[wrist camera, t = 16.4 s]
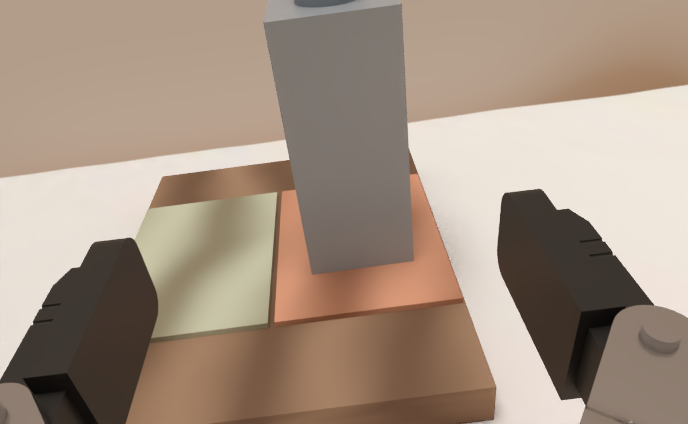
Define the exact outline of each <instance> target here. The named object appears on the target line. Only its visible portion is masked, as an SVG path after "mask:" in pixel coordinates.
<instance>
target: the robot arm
mask: <svg viewBox="0 0 688 424" xmlns="http://www.w3.org/2000/svg"><path fill="white" fill-rule="evenodd" d="M497 256H498V264H499V268H500V272H501V275H502V277H503V279H504V282H505V284H506V286H507V288H508V290H509V292H510V294H511V296H512V298H513V300H514V302H515V305H516V307H517V309H518V311H519V313H520V315H521V317H522V319H523V321H524V323H525V326H526V328H527V330H528V332H529V334H530V336H531V338H532V340H533V342H534V344H535V346H536V349H537V351H538V353H539V355H540V357H541V359H542V361H543V363H544V365H545V367H546V369H547V372H548V374H549V376H550V378H551V380H552V382H553V384H554V386H555V388H556V390H557V393H558V395H559V397H560V399H561V400H567V399H575V398H582V399H583V401H584V403H585V405H586V407H585V410H584V413H583V416H582V419H581V422H580V424H688V318H687V317H685V316H683V315H682V314H679V313H677V312H675V311H673V310H670V309H667V308H663V307H659V306H654V304H653V303H652V302H651V301H650V299H649V298H648V297H647V295H646V294H645V293H644V292H643V290H642V289H641V288H640V286H639V285H638V284H637V283H636V281H635V280H634V279H633V277H632V276H631V275H630V274H629V272H628V271H627V270H626V268H625V267H624V266H623V265H622V263H621V262H620V261H619V260H618V258H617V257H616V256H615V255H614V256H613V253H612V251H611V249H610V248H609V247H608V245H607V244H606V243H605V242H602V238H601V236H600V235H599V234H598V233H597V231H596V230H595V229H594V227H593V226H592V225H591V224H590V222H589V221H587V220H585V219H584V218H582V217H581V216H579V215H577V214H576V213H574V212H573V211H571V210H569V209H562V210H557V209H556V208H555V207H554V205H553V204H552V202H551V201H550V200H549V198H548V197H547V195H546V194H545V193H544V192H543V191H542V190H541V189H535V190H527V191H518V192H510V193H505V194H504V195H503V197H502V202H501V213H500V224H499V235H498V246H497ZM157 316H158V297H157V292H156V289H155V286H154V284H153V282H152V279H151V277H150V274H149V272H148V269H147V267H146V265H145V262H144V260H143V257H142V255H141V253H140V250H139V248H138V245H137V243H136V242H135V241H134V240H133V239H132V238H124V239H116V240H108V241H100V242H95V243H93V244H92V245H91V247H90V249H89V251H88V253H87V255H86V257H85V258H84V260H83V262H82V264H81V266H80V267H78V268H72V269H70V270H69V271H68V272H67V273H66V274H65V275H64V276H63V277H62V278H61V279H60V280H59V281H58V282H57V283H56V284H54V285H53V287H52V288H51V290H50V292H49V294H48V295H47V297H46V299H45V301H44V303H43V304H42V309H40V310H39V312H38V313H37V315H36V317H35V319H34V321H33V325H31V326H30V328H29V329H28V331H27V333H26V335H25V337H24V338H23V340H22V342H21V344H20V346H19V347H18V349H17V351H16V353H15V355H14V356H13V358H12V360H11V362H10V363H9V365H8V367H7V369H6V371H5V372H4V374H3V376H2V378H1V380H0V424H126V421H127V417H128V414H129V411H130V407H131V404H132V401H133V397H134V394H135V391H136V387H137V384H138V381H139V377H140V374H141V371H142V367H143V364H144V360H145V357H146V354H147V350H148V347H149V344H150V340H151V337H152V334H153V330H154V327H155V324H156V320H157Z"/></svg>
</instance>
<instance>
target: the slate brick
mask: <svg viewBox="0 0 688 424" xmlns="http://www.w3.org/2000/svg"><path fill="white" fill-rule="evenodd" d="M263 23H264V29H265V34H266V39H267V44H268V49H269V55H270V60H271V65H272V70H273V75H274V80H275V86H276V91H277V96H278V101H279V106H280V111H281V117H282V122H283V127H284V132H285V137H286V143H287V148H288V153H289V158H290V164H291V169H292V174H293V179H294V184H295V189H296V195H297V200H298V205H299V210H300V215H301V221H302V226H303V231H304V236H305V241H306V247H307V252H308V257H309V262H310V267H311V273H312V275H313V274H321V273H328V272H336V271H343V270H351V269H358V268H366V267H373V266H381V265H388V264H396V263H403V262H411V261H414V255H413V233H412V212H411V191H410V170H409V149H408V128H407V108H406V88H405V87H406V86H405V65H404V44H403V23H402V4H401V3H400V1H399V0H268V3H267V8H266V12H265V17H264V22H263Z"/></svg>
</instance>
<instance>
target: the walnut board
mask: <svg viewBox="0 0 688 424" xmlns="http://www.w3.org/2000/svg"><path fill="white" fill-rule="evenodd" d="M408 149H409V148H408ZM409 170H410V191H411V212H412V233H413V255H414V261H411V262H403V263H396V264H388V265H381V266H373V267H366V268H358V269H351V270H343V271H336V272H328V273H321V274H313V275H312V273H311V267H310V262H309V257H308V252H307V247H306V241H305V236H304V231H303V226H302V221H301V215H300V210H299V205H298V200H297V195H296V189H295V184H294V179H293V174H292V169H291V164H290V160H287V161H279V162H271V163H264V164H256V165H248V166H241V167H233V168H225V169H218V170H210V171H203V172H195V173H187V174H180V175H172V176H164V177H162V179H161V182H160V184H159V186H158V189H157V191H156V193H155V195H154V198H153V200H152V202H151V205H150V207H149V209H148V211H147V213H146V215H145V218H144V220H143V222H142V225H141V227H140V229H139V232H138V234H137V236H136V238H135V242H136V243H137V245H138V248H139V250H140V253H141V255H142V257H143V260H144V262H145V265H146V267H147V269H148V272H149V274H150V277H151V279H152V282H153V284H154V286H155V289H156V292H157V297H158V316H157V320H156V324H155V327H154V330H153V334H152V337H151V340H150V344H149V347H148V350H147V354H146V357H145V360H144V364H143V367H142V371H141V374H140V377H139V381H138V384H137V387H136V391H135V394H134V397H133V401H132V404H131V407H130V411H129V414H128V417H127V421H126V424H459V423H467V422H475V421H483V420H491V419H494V408H495V396H496V385H495V382H494V380H493V377H492V374H491V371H490V369H489V366H488V363H487V361H486V358H485V355H484V352H483V350H482V347H481V344H480V341H479V339H478V336H477V333H476V331H475V328H474V325H473V322H472V320H471V317H470V314H469V311H468V309H467V306H466V303H465V301H464V298H463V295H462V292H461V290H460V287H459V284H458V281H457V279H456V276H455V273H454V271H453V268H452V265H451V262H450V260H449V257H448V254H447V252H446V249H445V246H444V243H443V241H442V238H441V235H440V232H439V230H438V227H437V224H436V222H435V219H434V216H433V213H432V211H431V208H430V205H429V202H428V200H427V197H426V194H425V192H424V189H423V186H422V183H421V181H420V178H419V175H418V173H417V170H416V167H415V164H414V162H413V159H412V156H411V153H410V151H409Z"/></svg>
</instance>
